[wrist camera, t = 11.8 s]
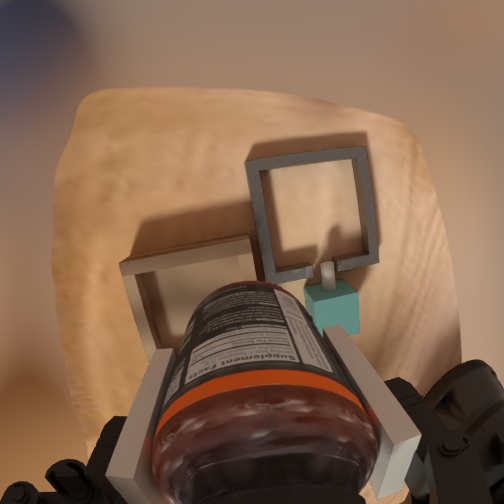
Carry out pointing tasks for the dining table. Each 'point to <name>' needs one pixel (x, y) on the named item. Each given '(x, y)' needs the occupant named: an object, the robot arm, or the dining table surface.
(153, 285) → the open box
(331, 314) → the pin
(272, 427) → the supplement bottle
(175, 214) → the dining table surface
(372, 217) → the socket collar
